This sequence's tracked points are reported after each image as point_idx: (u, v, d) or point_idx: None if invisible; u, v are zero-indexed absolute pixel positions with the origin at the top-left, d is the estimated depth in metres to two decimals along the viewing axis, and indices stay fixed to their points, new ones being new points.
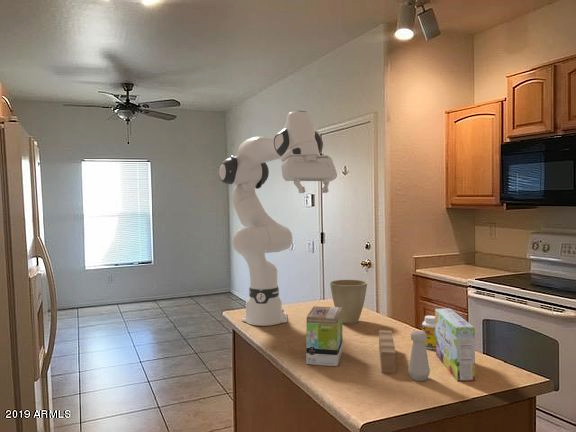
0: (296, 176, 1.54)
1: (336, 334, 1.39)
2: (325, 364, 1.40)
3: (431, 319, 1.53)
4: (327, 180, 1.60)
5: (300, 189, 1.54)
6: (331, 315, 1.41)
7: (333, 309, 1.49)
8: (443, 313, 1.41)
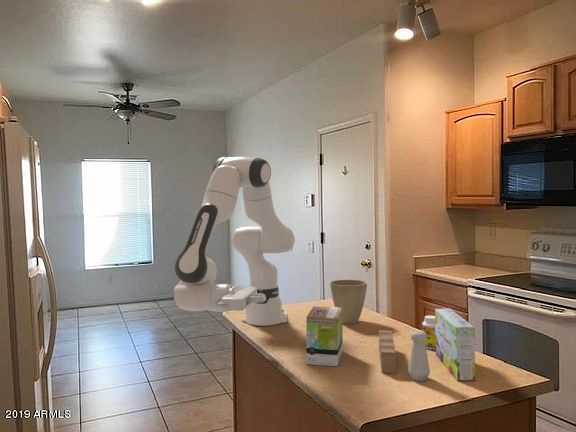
0: None
1: (336, 334, 1.39)
2: (325, 364, 1.40)
3: (431, 319, 1.53)
4: None
5: None
6: (331, 315, 1.41)
7: (333, 309, 1.49)
8: (443, 313, 1.41)
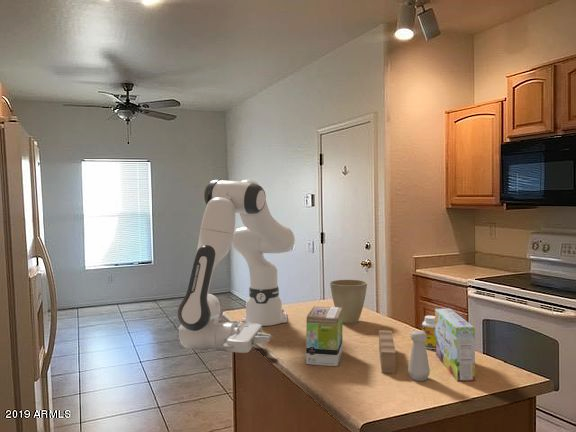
0: None
1: (336, 334, 1.39)
2: (325, 364, 1.40)
3: (431, 319, 1.53)
4: None
5: None
6: (331, 315, 1.41)
7: (333, 309, 1.49)
8: (443, 313, 1.41)
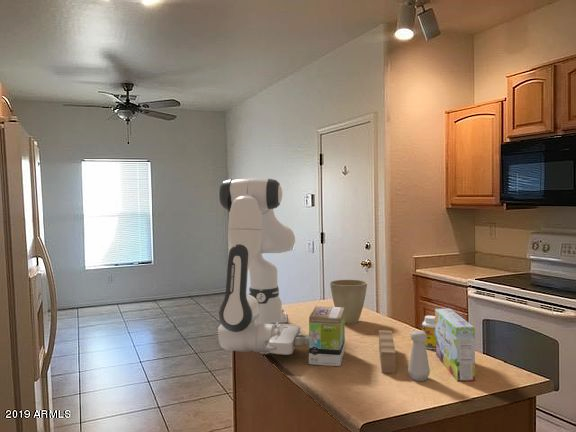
0: None
1: (339, 334, 1.39)
2: (328, 364, 1.40)
3: (431, 319, 1.53)
4: None
5: None
6: (334, 315, 1.41)
7: (335, 309, 1.49)
8: (443, 313, 1.41)
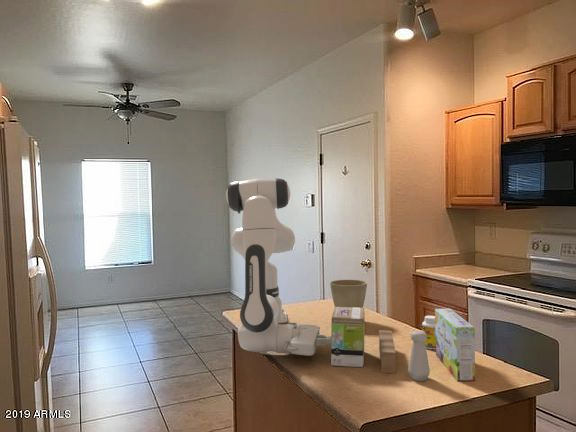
0: None
1: (362, 335, 1.38)
2: (350, 365, 1.39)
3: (431, 319, 1.53)
4: None
5: None
6: (356, 315, 1.40)
7: (356, 309, 1.48)
8: (443, 313, 1.41)
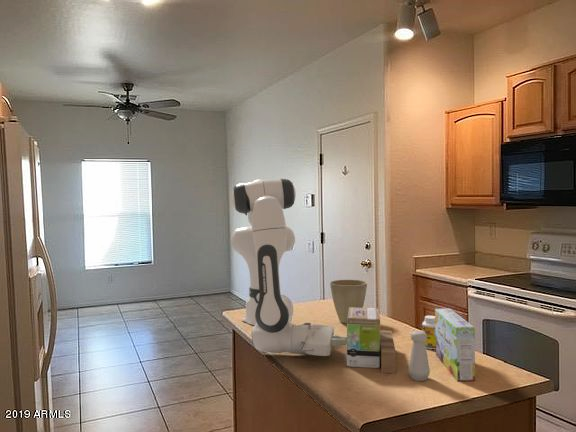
0: None
1: (378, 335, 1.37)
2: (367, 366, 1.38)
3: (431, 319, 1.53)
4: None
5: None
6: (372, 316, 1.40)
7: (371, 310, 1.48)
8: (443, 313, 1.41)
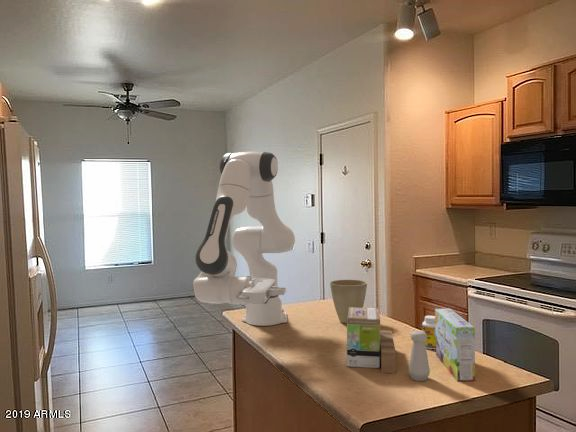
0: None
1: (378, 335, 1.37)
2: (367, 366, 1.38)
3: (431, 319, 1.53)
4: None
5: None
6: (372, 316, 1.40)
7: (371, 310, 1.48)
8: (443, 313, 1.41)
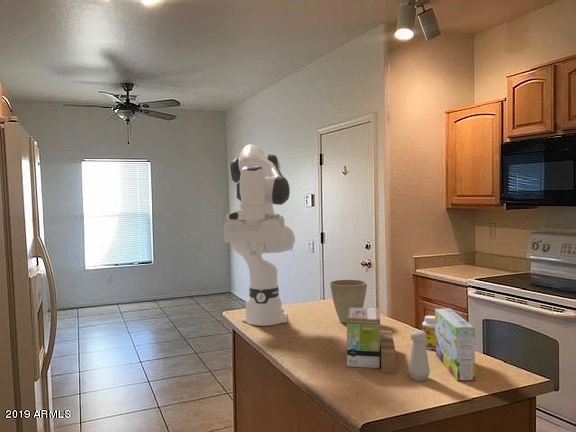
0: (232, 241, 1.56)
1: (378, 335, 1.37)
2: (367, 366, 1.38)
3: (431, 319, 1.53)
4: (258, 244, 1.55)
5: None
6: (372, 316, 1.40)
7: (371, 310, 1.48)
8: (443, 313, 1.41)
